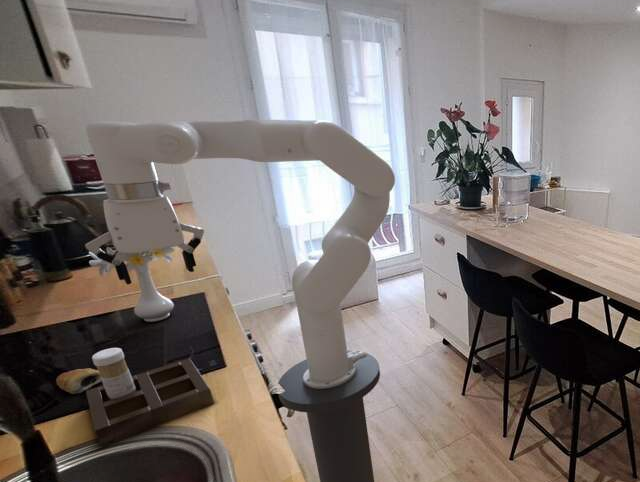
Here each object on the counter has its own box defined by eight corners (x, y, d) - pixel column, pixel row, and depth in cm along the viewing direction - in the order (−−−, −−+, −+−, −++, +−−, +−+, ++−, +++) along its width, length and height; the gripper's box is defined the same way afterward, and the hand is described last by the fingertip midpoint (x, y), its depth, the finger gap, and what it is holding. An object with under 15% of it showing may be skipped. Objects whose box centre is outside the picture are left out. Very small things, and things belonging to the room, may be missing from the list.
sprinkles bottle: (126, 397, 93) (107, 346, 88) (146, 398, 93) (127, 347, 88) (106, 411, 89) (84, 357, 84) (126, 412, 88) (106, 359, 84)
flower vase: (115, 318, 127) (87, 242, 118) (191, 304, 138) (170, 233, 130) (111, 335, 118) (80, 253, 109) (192, 318, 129) (170, 242, 120)
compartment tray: (193, 371, 103) (189, 357, 102) (214, 403, 92) (209, 388, 91) (92, 405, 90) (85, 390, 89) (101, 447, 79) (94, 430, 78)
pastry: (47, 388, 95) (41, 374, 94) (84, 372, 101) (78, 359, 100) (75, 396, 93) (69, 382, 91) (111, 379, 99) (106, 366, 98)
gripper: (187, 184, 85) (207, 262, 91) (65, 193, 73) (98, 282, 79) (197, 189, 81) (217, 270, 87) (68, 199, 68) (102, 293, 74)
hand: (160, 276), depth 83 cm, fingers open, 9 cm apart
